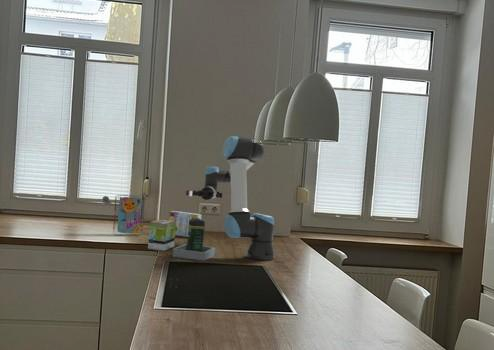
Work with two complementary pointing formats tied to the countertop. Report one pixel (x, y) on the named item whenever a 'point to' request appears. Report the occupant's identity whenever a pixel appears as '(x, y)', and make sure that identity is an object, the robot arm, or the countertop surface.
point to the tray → (194, 253)
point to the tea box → (162, 234)
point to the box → (128, 213)
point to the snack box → (182, 221)
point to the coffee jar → (195, 235)
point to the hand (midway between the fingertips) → (201, 194)
